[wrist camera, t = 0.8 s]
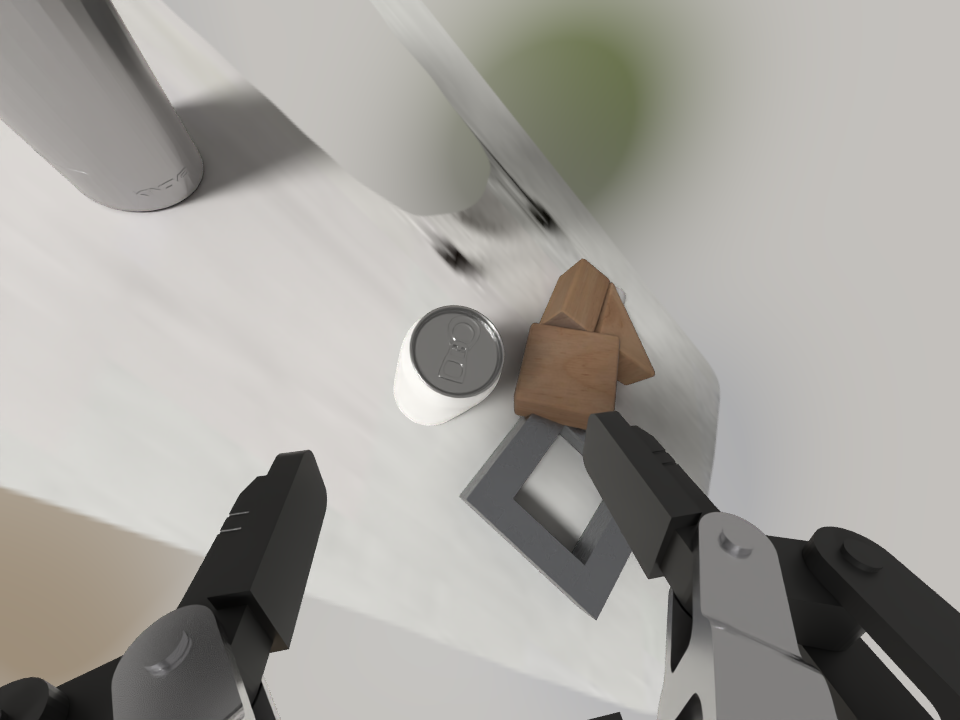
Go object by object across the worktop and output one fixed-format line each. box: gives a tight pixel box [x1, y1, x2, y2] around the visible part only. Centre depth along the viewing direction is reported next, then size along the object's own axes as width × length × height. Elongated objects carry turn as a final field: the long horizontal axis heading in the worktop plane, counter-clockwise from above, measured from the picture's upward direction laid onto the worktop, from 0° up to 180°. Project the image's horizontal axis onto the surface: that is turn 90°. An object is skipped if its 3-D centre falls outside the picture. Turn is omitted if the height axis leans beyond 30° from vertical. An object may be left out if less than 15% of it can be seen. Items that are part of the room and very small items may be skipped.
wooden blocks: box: [514, 259, 655, 430], centre depth 34 cm, size 8×13×18 cm
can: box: [394, 305, 505, 425], centre depth 25 cm, size 6×6×12 cm
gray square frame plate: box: [459, 413, 632, 620], centre depth 30 cm, size 14×13×2 cm
